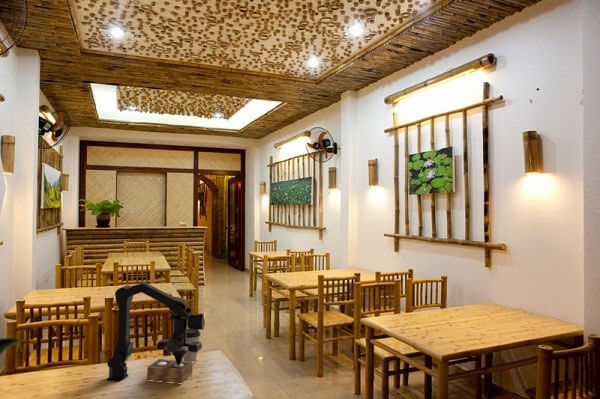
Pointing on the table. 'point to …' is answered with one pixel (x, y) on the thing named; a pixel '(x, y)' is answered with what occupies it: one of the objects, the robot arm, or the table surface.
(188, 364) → the walnut block
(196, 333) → the coffee cup
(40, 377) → the table surface
